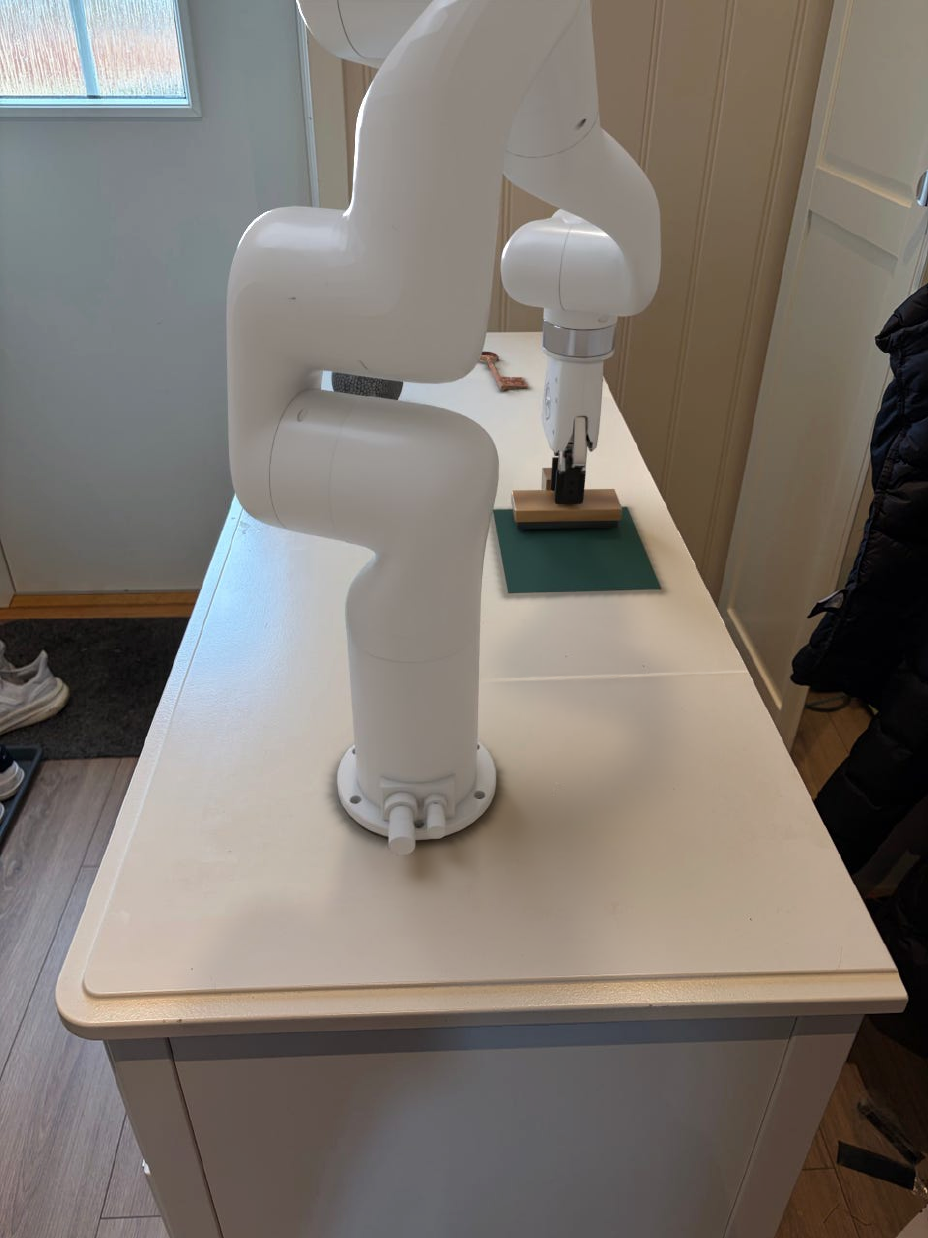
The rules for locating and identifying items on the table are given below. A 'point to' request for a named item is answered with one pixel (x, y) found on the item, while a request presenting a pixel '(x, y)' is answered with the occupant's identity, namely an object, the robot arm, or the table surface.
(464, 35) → the robot arm
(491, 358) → the key
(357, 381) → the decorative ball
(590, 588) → the mat
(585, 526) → the brush
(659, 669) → the table surface
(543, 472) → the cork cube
